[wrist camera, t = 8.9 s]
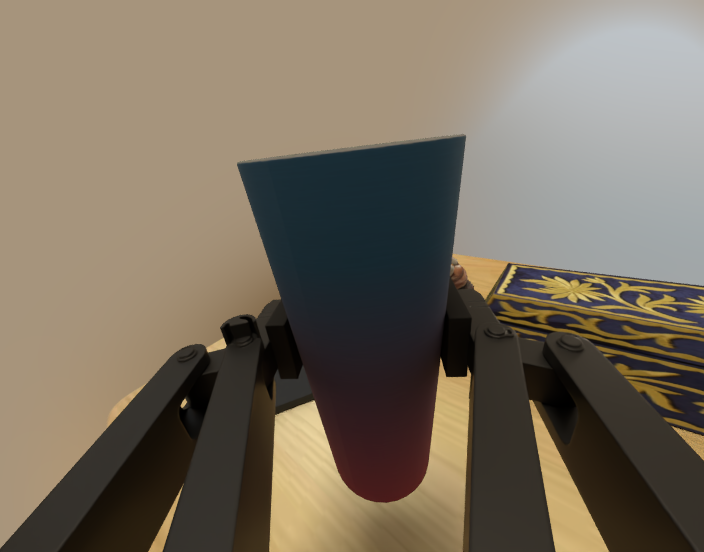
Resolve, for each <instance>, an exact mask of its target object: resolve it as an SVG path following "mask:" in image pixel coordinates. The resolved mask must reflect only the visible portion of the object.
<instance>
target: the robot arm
mask: <svg viewBox="0 0 704 552" xmlns="http://www.w3.org/2000/svg"><path fill="white" fill-rule="evenodd" d="M220 329H221V331H222V334H223V337H224V339H225V342H226V344H227V346H226V348H225V349H221V350H217V351H213V352H209V353H208V352H207V349H206V347H205V346H204V345H202V344H195V345H189V346H187V347H184V348H182V349H181V350H179V351H177V352H176V353H175V354H173V355H172V356H171V357H170V358H169V359H168V361H167V362H166V363H165V364H164V365H163V366H162V367H161V368H160V370H159V371H158V372H157V373H156V374H155V375H154V376H153V378H152V379H151V380H150V381H149V382H148V383H147V384H146V385H145V386H144V388H143V389H142V390H141V391H140V392H139V393H138V394H137V395H136V397H135V398H134V399H133V400H132V401H131V402H130V403H129V404H128V406H127V407H126V408H125V409H124V410H123V411H122V412H121V413H120V415H119V416H118V417H117V418H116V419H115V420H114V421H113V422H112V424H111V425H110V426H109V427H108V428H107V429H106V430H105V431H104V433H103V434H102V435H101V436H100V437H99V438H98V439H97V441H96V442H95V443H94V444H93V445H92V446H91V447H90V448H89V449H88V451H87V452H86V453H85V454H84V455H83V456H82V457H81V458H80V460H79V461H78V462H77V463H76V464H75V465H74V467H72V469H71V470H70V471H69V472H68V473H67V474H66V475H65V476H64V478H63V479H62V480H61V481H60V482H59V483H58V484H57V485H56V487H55V488H54V489H53V490H52V491H51V492H50V493H49V495H48V496H47V497H46V498H45V499H44V500H43V501H42V502H41V503H40V505H39V506H38V507H37V508H36V509H35V510H34V511H33V513H32V514H31V515H30V516H29V517H28V518H27V519H26V520H25V522H24V523H23V524H22V525H21V526H20V527H19V528H18V529H17V531H16V532H15V533H14V534H13V535H12V536H11V537H10V539H9V540H8V541H7V542H6V543H5V544H4V545H3V546H2V547H1V549H0V552H148V551H149V549H150V547H151V545H152V543H153V541H154V539H155V538H156V536H157V534H158V532H159V530H160V528H161V526H162V524H163V522H164V520H165V518H166V516H167V514H168V512H169V511H170V509H171V507H172V505H173V503H174V501H175V499H176V497H177V495H178V493H179V491H180V489H181V487H182V486H183V488H182V491H181V494H180V497H179V501H178V504H177V507H176V510H175V514H174V517H173V520H172V523H171V526H170V530H169V533H168V536H167V539H166V543H165V546H164V549H163V552H269V541H270V518H271V495H272V472H273V449H274V426H275V403H276V383H275V380H274V376H275V374H276V372H277V369H278V372H279V375H280V379H298V377H299V375H300V372H301V369H302V366H303V363H302V360H301V357H300V354H299V351H298V348H297V345H296V342H295V339H294V336H293V333H292V330H291V327H290V324H289V320H288V317H287V314H286V311H285V308H284V305H283V302H282V299H281V300H273V301H271V302H270V303H268V304H267V305H266V306H265V307H264V309H263V310H262V313H260V315H259V316H258V318H257V319H256V318H255V317H254V316H252V315H248V314H246V315H239V316H236V317H233V318H231V319H229V320H227V321H226V322H225V323H223V324H222V326H221V327H220ZM441 359H442V363H443V366H444V370H445V373H446V377H467V368H469V370H470V373H471V382H470V392H469V399H470V401H469V423H468V446H467V468H466V490H465V513H464V535H463V552H555V546H554V541H553V535H552V529H551V524H550V518H549V512H548V506H547V501H546V495H545V489H544V483H543V478H542V472H541V466H540V460H539V455H538V449H537V443H536V438H535V432H534V426H533V420H532V415H531V409H530V403H529V400H533V402H534V404H535V406H536V408H537V410H538V412H539V414H540V416H541V418H542V420H543V422H544V424H545V426H546V428H547V430H548V432H549V434H550V436H551V438H552V440H553V441H554V443H555V445H556V447H557V449H558V451H559V453H560V455H561V457H562V459H563V461H564V463H565V465H566V467H567V469H568V471H569V473H570V475H571V477H572V479H573V481H574V483H575V485H576V487H577V489H578V491H579V493H580V495H581V497H582V499H583V501H584V503H585V505H586V507H587V509H588V511H589V512H590V514H591V516H592V518H593V520H594V522H595V524H596V526H597V528H598V530H599V532H600V534H601V536H602V538H603V540H604V542H605V544H606V546H607V548H608V550H609V552H704V461H703V460H702V459H701V457H700V456H699V455H698V454H697V453H696V452H695V451H694V450H693V449H692V448H691V447H690V446H689V445H688V444H687V443H686V442H685V440H684V439H683V438H682V437H681V436H680V435H679V434H678V433H677V432H676V431H675V430H674V429H673V428H672V427H671V426H670V425H669V424H668V422H667V421H666V420H665V419H664V418H663V417H662V416H661V415H660V414H659V413H658V412H657V411H656V410H655V409H654V408H653V407H652V406H651V404H650V403H649V402H648V401H647V400H646V399H645V398H644V397H643V396H642V395H641V394H640V393H639V392H638V391H637V390H636V389H635V388H634V386H633V385H632V384H631V383H630V382H629V381H628V380H627V379H626V378H625V377H624V376H623V375H622V374H621V373H620V372H619V371H618V369H617V368H616V367H615V366H614V365H613V364H612V363H611V362H610V361H609V360H608V359H607V358H606V357H605V356H604V355H603V354H602V353H601V351H600V350H599V349H598V348H597V347H596V346H595V345H594V344H593V343H591V342H590V341H589V340H587V339H585V338H583V337H581V336H579V335H576V334H572V333H569V332H552V333H550V334H548V335H547V336H546V339H545V342H541V341H535V340H529V339H524V338H520V337H518V335H517V333H516V332H515V331H514V330H513V329H512V328H511V327H509V326H507V325H504V324H501V323H500V322H499V321H498V319H497V318H496V316H495V315H494V313H493V312H492V310H491V309H490V307H489V306H488V304H487V303H486V302H485V300H484V298H483V297H482V295H481V294H480V293H478V292H477V291H475V290H474V289H459V290H457V288H456V286H455V284H454V282H453V281H452V279H451V277H450V279H449V288H448V297H447V305H446V314H445V323H444V331H443V340H442V349H441ZM184 399H186V401H187V403H186V405H185V406H184V407H183V408H181V404H182V402H183V400H184ZM183 484H184V485H183Z"/></svg>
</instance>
